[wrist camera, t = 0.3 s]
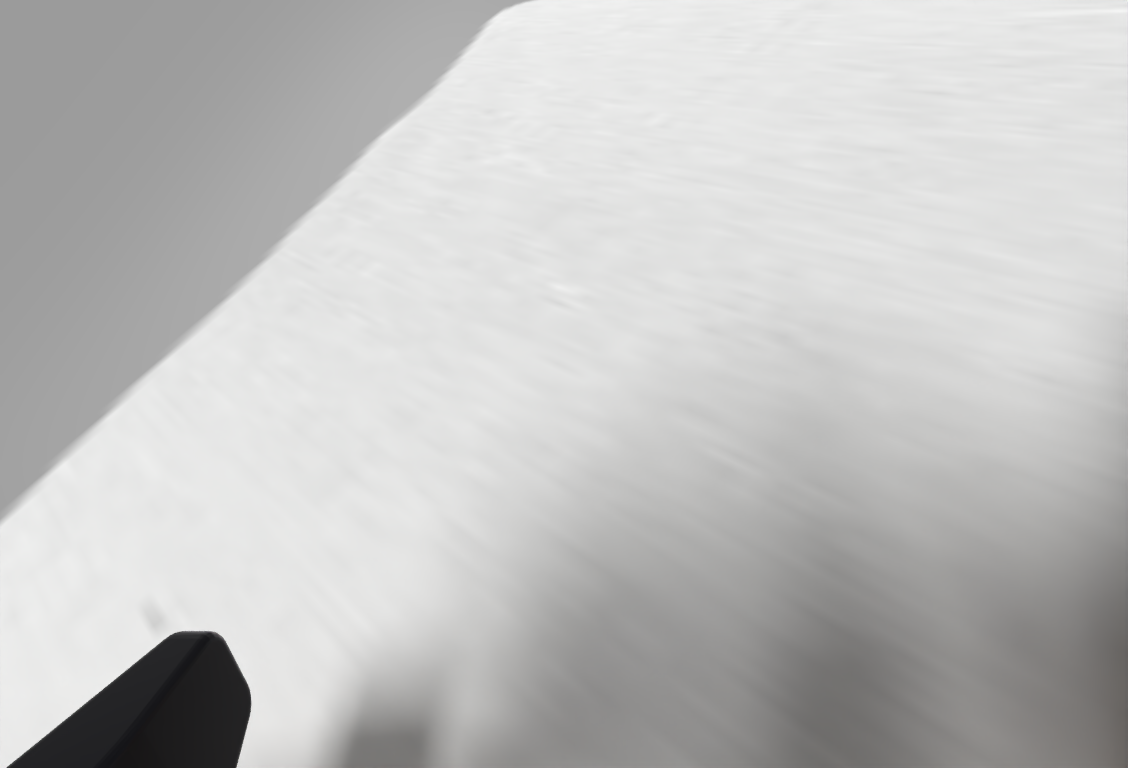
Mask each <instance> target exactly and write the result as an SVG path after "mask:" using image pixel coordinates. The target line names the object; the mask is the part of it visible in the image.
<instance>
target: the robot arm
mask: <svg viewBox="0 0 1128 768" xmlns="http://www.w3.org/2000/svg"><path fill="white" fill-rule="evenodd" d="M250 712H251V694H250V689H249V686H248V684H247V682H246V680H245V678H244V676H243V674H242V672H241V670H240V668H239V666H238V664H237V663H236V661H235V659H234V657H233V655H232V653H231V651H230V649H229V647H228V645H227V643H226V641H225V640H224V638H223V637H222V636H220V635H219V634H218V633H216V632H212V631H182V632H177V633H174V634H172V635H170V636H169V637H167V638H166V639H164V640H163V641H162V642H161V643H160V644H158V645H157V646H156V647H155V648H153V649H152V650H151V651H150V652H148V653H147V654H146V655H145V656H144V657H142V658H141V659H140V660H139V661H137V662H136V663H135V664H134V665H132V666H131V667H130V668H129V669H128V670H126V671H125V672H124V673H123V674H121V675H120V676H119V677H118V678H116V679H115V680H114V681H113V682H111V683H110V684H109V685H108V686H107V687H105V688H104V689H103V690H102V691H100V692H99V693H98V694H97V695H95V696H94V697H93V698H92V699H91V700H89V701H88V702H87V703H86V704H84V705H83V706H82V707H81V708H79V709H78V710H77V711H76V712H75V713H73V714H72V715H71V716H70V717H68V718H67V719H66V720H65V721H63V722H62V723H61V724H60V725H58V726H57V727H56V728H55V729H54V730H52V731H51V732H50V733H49V734H47V735H46V736H45V737H44V738H42V739H41V740H40V741H39V742H38V743H36V744H35V745H34V746H33V747H31V748H30V749H29V750H28V751H26V752H25V753H24V754H23V755H22V756H20V757H19V758H18V759H17V760H15V761H14V762H13V763H12V764H10V765H9V766H8V767H7V768H236V767H237V763H238V759H239V756H240V752H241V748H242V744H243V740H244V736H245V732H246V729H247V725H248V721H249V717H250Z"/></svg>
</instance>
